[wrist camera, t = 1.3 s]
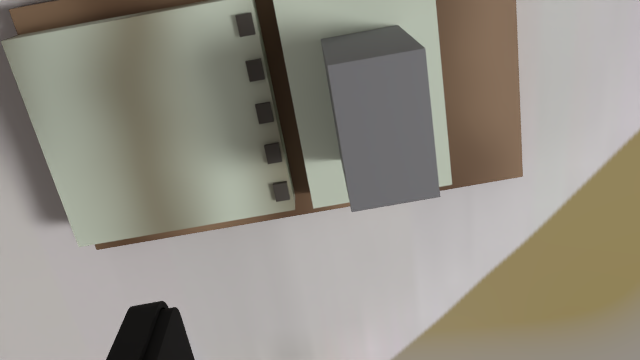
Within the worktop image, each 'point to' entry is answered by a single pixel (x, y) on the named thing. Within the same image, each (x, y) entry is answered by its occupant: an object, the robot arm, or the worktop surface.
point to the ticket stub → (367, 99)
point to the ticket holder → (220, 110)
